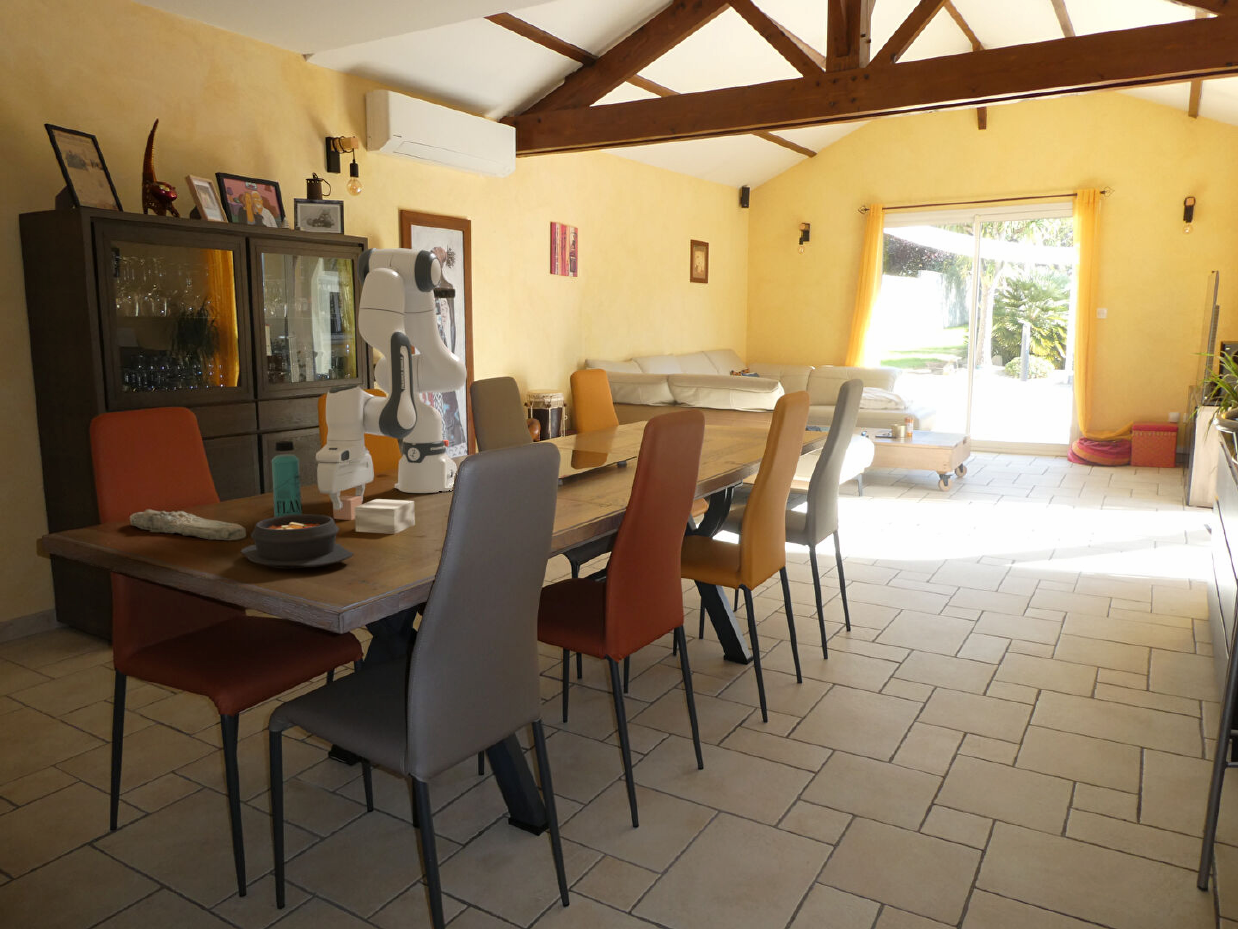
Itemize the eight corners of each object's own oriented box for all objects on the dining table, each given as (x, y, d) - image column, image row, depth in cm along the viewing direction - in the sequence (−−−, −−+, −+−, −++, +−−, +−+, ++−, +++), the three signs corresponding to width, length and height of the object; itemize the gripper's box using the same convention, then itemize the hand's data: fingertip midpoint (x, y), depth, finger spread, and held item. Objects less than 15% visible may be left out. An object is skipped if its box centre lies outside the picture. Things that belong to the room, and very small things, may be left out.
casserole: (375, 560, 185) (373, 520, 184) (301, 582, 169) (299, 538, 168) (293, 544, 198) (291, 506, 196) (217, 563, 182) (215, 522, 181)
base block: (377, 523, 219) (376, 498, 218) (415, 525, 217) (414, 501, 216) (355, 532, 210) (354, 507, 209) (394, 534, 207) (393, 509, 206)
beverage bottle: (273, 527, 214) (268, 443, 211) (275, 521, 220) (270, 439, 217) (302, 525, 216) (297, 442, 212) (303, 519, 222) (299, 439, 219)
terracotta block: (344, 514, 228) (343, 495, 227) (362, 516, 227) (361, 496, 226) (333, 519, 223) (332, 499, 222) (351, 520, 222) (350, 500, 221)
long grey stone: (222, 551, 198) (258, 543, 206) (222, 527, 197) (258, 521, 206) (115, 526, 212) (153, 520, 221) (115, 504, 211) (153, 499, 220)
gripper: (356, 445, 233) (358, 497, 235) (311, 455, 213) (314, 512, 215) (379, 445, 231) (380, 499, 233) (335, 456, 211) (337, 514, 213)
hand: (348, 505), depth 224 cm, fingers open, 8 cm apart
